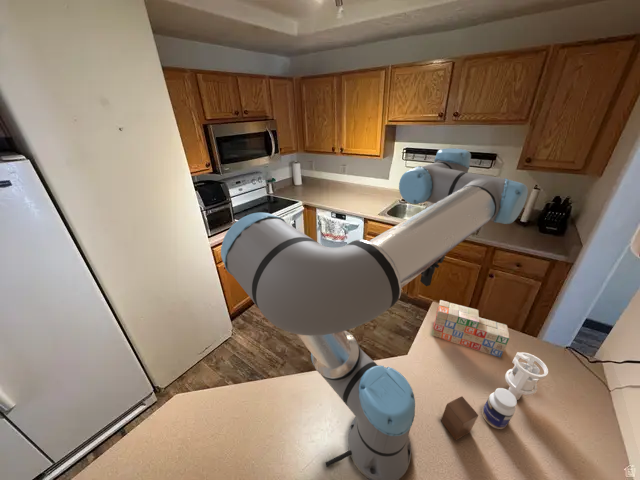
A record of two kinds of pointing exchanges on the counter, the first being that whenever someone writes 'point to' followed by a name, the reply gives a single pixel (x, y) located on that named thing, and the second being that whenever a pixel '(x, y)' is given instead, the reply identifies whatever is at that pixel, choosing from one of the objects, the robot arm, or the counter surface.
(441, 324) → the stack of blocks
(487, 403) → the pill bottle
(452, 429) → the walnut block
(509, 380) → the strainer
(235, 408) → the counter surface
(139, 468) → the counter surface
